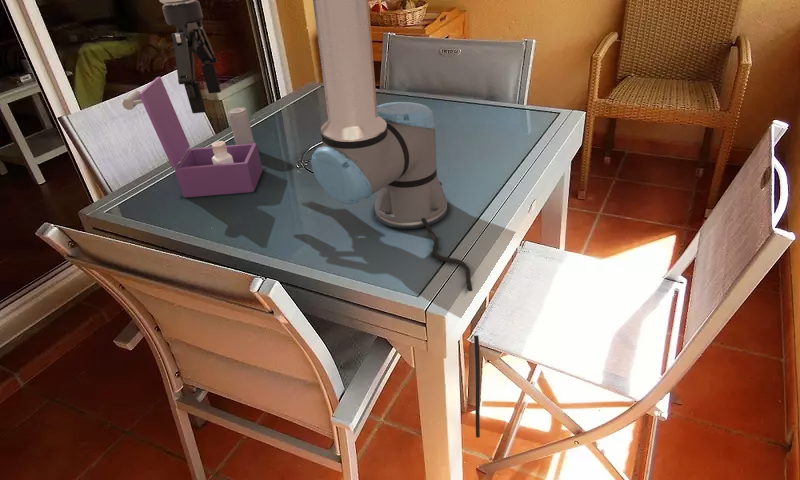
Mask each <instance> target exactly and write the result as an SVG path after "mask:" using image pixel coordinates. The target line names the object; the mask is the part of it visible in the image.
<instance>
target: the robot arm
mask: <svg viewBox="0 0 800 480" xmlns="http://www.w3.org/2000/svg"><path fill="white" fill-rule="evenodd" d="M159 3H161V4H163V5H162V6H161V10H162V13H163V16H164V20H165V22H166V24H167V25H168V26H175V27H176V32H173V33H171V39H172V44H173V47H174V48H173V50H174V58H175V65H176V74H177V83H178V85H183V86H184V88H185V93H186V96H187V100H188V101H189V102H188V103H189V107H190V109H191V113H192V114H203V113H206V112H207V109H206V106H205V103H204V99H203V95H202V93H201V92H202V91H201V89H200V88H201V87H200V85H199V81H196V80H197V79H196V57H195V55H197V57H198V59H199V60H200V62H201V70H202V73H203V77H204V80H205V81H204V82H205V84H206V88H207V92H208V94H217V93H218V94H219V93H221V92H222V90H221V86H220V82H219V79H218V75H217V71H216V66H215V63H218V59H217V57H216V54H215V52H214V50H213V47H212V44H211V42H210V40H209V37H208V35H207V33H206V31H205V29H204V25H203V22H202V20H203V18H204V15H203V10H202V7H201V3H200V1H199V0H159ZM312 3H313V5H312V6H313V11H314V18H315V19H314V20H315V27H316V36H317V42H318V43H317V44H318V50H319V59H320V64H321V65H320V66H321V73H322V81H323V82H322V83H323V91H324V97H325V98H324V99H325V104H326V105H325V106H326V115H327V114H328V116H327V119H326V120H325V121H324V122H323V123H322V124H321V126H320V134H321V141H322V146H319V147H317V148H316V150H314V153H312V155H311V159H310V160H311V169H312V172H313V175H314V178H315V179H316V181H317V183H318V184H319V186H320V188H322V189H323V190H324V191H325V193H326V194H327V195H328V196H329V197H331V198H332V199H333V200H335V201H336V202H339V203H341V204H344V205H354V204H357V203H359V202H361V201H363V200H366V199H367V200H368V199H369V198H370V197H371V196H372V195H373V194H375V193H377V195H376V199H375V203H374V212H375V217H376V219H377V221H379V223H381V224H383V225H384V226H386V227H390V228H393V229H398V230H417V229H423V228H425V229H426V230H427V232H428V233H429V236H430V237H431V239H432V241H433V247H432V255H433V256H434V257H435V259H437V260H439V261H440V262H446V263H451V264H457V265H459V266H461V267H462V268H463V269H464V271H465V281H466V287H467V291H469V292H473V286H472V281H471V269H470V267H469V265H467V264H466V263H465V262H464V261H462V260H460V259H457V258H452V257H446V256H442V255H440V254H439V253H438V248H439V240H438V237H437V235H436V234H435V232H434V231H433V229H432V228H431V226H432V225H434V224H436V223H438V222H440V221H441V220H442V219H444V217H445V216H446V215H447V213H448V200H447V196H446V195H445V194H446V193H445V192H444V190H443V183H442V182H441V181H440V179H439V177H438V171H437V169H438V166H437V145H436V143H437V142H436V141H437V140H436V124H435V115H434V112H433V111H432V109H431V108H430V107H429V106H428V105H425V104H421V103H418V102H410V101H393V102H386V103H381V104H379V105H378V103H377V102H378V101H377V89H376V78H375V66H374V65H375V64H374V54H373V53H374V51H373V39H372V37H373V36H372V26H371V13H370V12H371V11H370V1H369V0H312ZM479 337H480V336H479V335H478V334H477V335H473V341H474V342H473V343H474V360H475V361H474V362H475V364H474V365H475V366H474V367H475V437H476V438H477V439H479V438H480V436H481V431H480V429H481V426H480V424H481V422H480V412H481V411H480V409H481V407H480V405H481V404H480V403H481V402H480V401H481V400H480V399H481V397H480V396H481V360H480V359H481V357H480V338H479Z"/></svg>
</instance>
